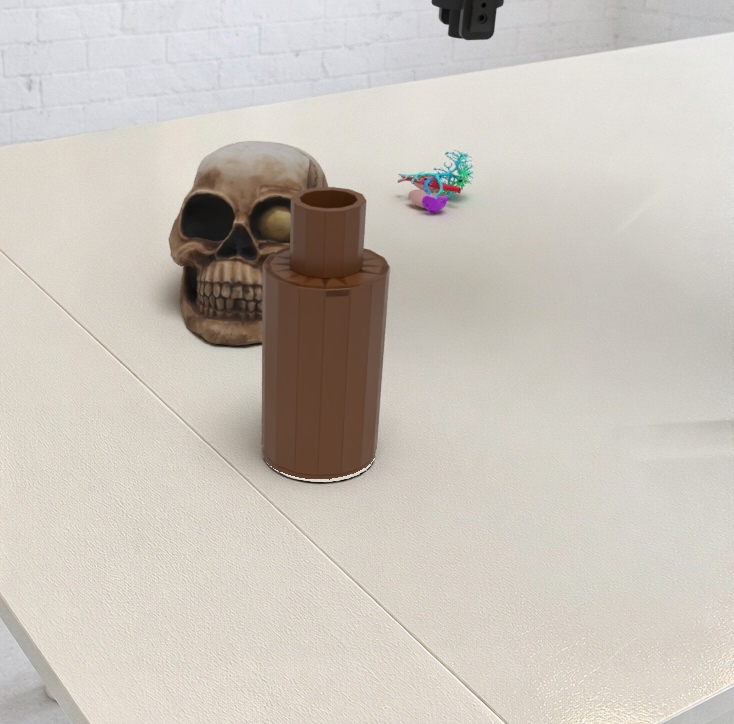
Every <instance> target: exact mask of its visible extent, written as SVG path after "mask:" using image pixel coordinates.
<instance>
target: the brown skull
mask: <svg viewBox="0 0 734 724" xmlns="http://www.w3.org/2000/svg"><path fill="white" fill-rule="evenodd" d="M326 177H327V176H326V175H325V172H324V169H323V167H322V166H321V164H320V163H319V162H318V161H317V160H316V158H314V156H313V155H311V154H310V153H308V152H307V151H305V150H303V149H301V148H300V147H296V146H293V145H290V144H287V143H282V142H276V141H275V142H274V141H264V140H245V141H237V142H234V143H229V144H227V145H224V146H221V147H219V148H218V149H216V150H214V151H212V152H211V153H209V154H207V155H206V156H205V157H203V159H202V160H201V161H200V163H199V165H198V167H197V169H196V174H195V177H194V180H193V184H192V187H191V189H190V190H189V191H188V193H187V194H186V195H185V197H184V198H183V201H182V204H181V206H180V208H179V213H177V215H176V218H175V219H174V221H173V224H172V227H171V229H170V233H169V236H168V244H169V250H170V257H171V259H172V261H173V262H174V264H177V265H178V266H180V267H182V275H181V279H180V280H181V284H180V285H181V286H180V294H179V295H180V296H179V304H180V308H181V313H182V317H183V318H184V322H185V326H186V328H187V329H189V330H190V331H191V332H192V333H195V334H197V335H199V336H201V337H202V338H203V340H205V341H207V342H208V343H210V344H214V345H225V346H232V347H234V346H246V345H247V346H248V345H251V344H259V343H260V344H262V288H263V263H264V262H265V260H266V259H267V257H268V256H269V255H270V254H272V253H275V252H277V251H279V250H281V249H283V248H287V247H290V224H291V197H292V196H293V195H295V194H296V193H297V192H299V191H303V190H306V189H310V188H319V187H329V183H328V179H327V178H326Z"/></svg>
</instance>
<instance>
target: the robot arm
mask: <svg viewBox="0 0 734 724" xmlns="http://www.w3.org/2000/svg"><path fill="white" fill-rule="evenodd" d="M497 2H498V0H462V3H461V13H460V24H459V34H460V36H461V37H462V38H464V39H463V40H465V41H485V40H489V39H491V38H492V37H493V36H494V34H495V27H496V19H497V10H498V8H497ZM449 17H450V9H444V8H439V7H438V20H439V21H440V22H441V23H442V24H444V25H445V26H449Z"/></svg>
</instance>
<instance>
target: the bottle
mask: <svg viewBox="0 0 734 724" xmlns="http://www.w3.org/2000/svg"><path fill="white" fill-rule="evenodd" d="M366 215H367V199H366V197H365V196H364V194H362V193H361V192H358V191H356V190H353V189H351V188H343V187H335V186H328V187H319V188H310V189H306V190H303V191H299V192H297V193H296V194H295V195H293V196H292V197H291V224H290V247H287V248H283V249H281V250H279V251H277V252H275V253H272V254H270V255H269V256H268V257H267V259H266V260H265V262H264V263H263V288H262V343H261V447H262V448H261V449H262V450H261V451H262V453H263V454H262V458H263V457H264V458H263V460H264V459H265V460H264V462H265V461H266V462H267V463H268V464H269V465H270V466H272V468H274V469H276V470H278V471H279V472H283V473H285V474H288V475H291V476H295V477H299V478H305V479H329V480H330V479H332V478H338V477H343V476H347V475H350V474H354V473H356V472H358V471H360V470H362V469H363V468H366V467H367V466H368V465H369V464H371V462H372V461H373V459H374V458H375V459H376V455H375V454H377V453H376V452H377V448H378V440H379V439H378V437H379V425H380V424H379V423H380V409H381V399H382V398H381V396H382V381H383V369H384V368H383V367H384V355H385V342H386V329H387V328H386V326H387V313H388V300H389V286H390V273H391V266H390V265H389V262H388V261H387V260H386V258H385V257H384V256H382V255H380V254H379V253H377V252H375V251H373V250H371V249H370V248H369V249H368V248H365V234H366V233H365V232H366ZM266 462H265V463H266ZM267 463H266V464H267Z"/></svg>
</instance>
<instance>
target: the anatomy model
mask: <svg viewBox="0 0 734 724" xmlns="http://www.w3.org/2000/svg"><path fill="white" fill-rule="evenodd" d="M455 152H457V153H455ZM449 154H451V155H450V156H449ZM468 154H469V153H468V152H466V153H464V152H461V151H460V150H457V149H456V150H453V151H450V152H449V151H446V152H445V153H444V156H445V155H446V157H447V158H448V159H449V161H450V160H451V161H452V162H450V165H449V166H448V165H446V161H444V163H443V166H444V167H445V169H447V170H445V169H442V167H441V166H440V168H436V167H434V168H433V171H437V172H436V173H434V172H425V171H421V172H418V173H413V174H402V173H398V176H399V177H400V179H398V180H397V184H398V183H402V182H410V183H411V184H412V185H414V187H416V188H417V189H413V190H411V191H410V192H409V193H408V199H409V201H410V202H411V203H412V204H414V205H416V206H417V207H419V208H422V209H425V210H426V211H428V212H429V213H432V214H434V213H437V212H440V211H441V210H442V209H444V208H445V207H446V205H447V202H448V200H449V199H455V197H453V195H455V196H457V197H460V195H459V194H461V193H462V192H461V191H463V190H464V187H465V185H466V184H470V185H472V183H471V182H472V180H473V179H474V177H473V176H471V175H474V171H471V169H472V168H474V165H473V164H472V163H471V164H468V163H469V162H472V161H473V159H470V160H468V158H471V156H470V155H468ZM463 160H464V161H463ZM467 162H468V163H467ZM453 163H454V165H455V167H454V168H453V169H452V170H451V168H452V166H453ZM440 171H441V172H440ZM455 171H457V172H456V174H454V173H455ZM469 178H471V179H472V180H469ZM443 179H444V180H443Z"/></svg>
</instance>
